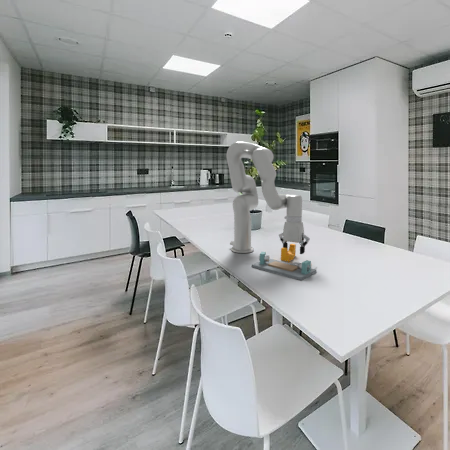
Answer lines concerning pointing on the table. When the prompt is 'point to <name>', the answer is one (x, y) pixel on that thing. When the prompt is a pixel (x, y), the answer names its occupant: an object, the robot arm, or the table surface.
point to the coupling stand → (284, 268)
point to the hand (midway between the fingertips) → (293, 252)
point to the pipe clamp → (288, 253)
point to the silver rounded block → (301, 266)
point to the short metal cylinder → (265, 258)
